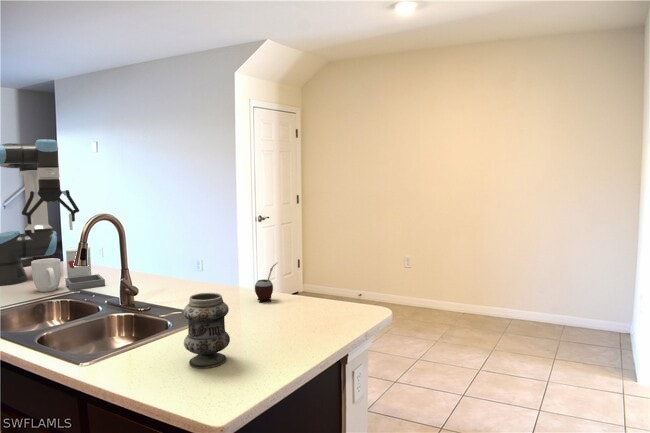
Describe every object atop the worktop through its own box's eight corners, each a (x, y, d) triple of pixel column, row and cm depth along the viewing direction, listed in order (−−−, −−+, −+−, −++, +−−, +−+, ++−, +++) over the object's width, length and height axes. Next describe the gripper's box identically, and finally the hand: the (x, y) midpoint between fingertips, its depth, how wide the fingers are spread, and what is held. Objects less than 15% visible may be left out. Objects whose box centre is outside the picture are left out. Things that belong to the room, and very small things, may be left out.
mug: (68, 291, 207) (66, 261, 206) (39, 296, 200) (37, 265, 199) (58, 285, 218) (56, 257, 217) (30, 290, 211) (28, 260, 209)
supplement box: (67, 282, 225) (64, 250, 224) (71, 278, 234) (69, 247, 232) (88, 280, 227) (86, 249, 226) (92, 276, 236) (90, 246, 235)
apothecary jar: (233, 352, 137) (231, 289, 135) (226, 369, 125) (224, 301, 123) (190, 353, 136) (188, 290, 135) (179, 371, 124) (176, 302, 123)
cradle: (65, 284, 220) (65, 278, 220) (99, 280, 228) (98, 274, 228) (70, 290, 209) (69, 284, 208) (105, 286, 217) (104, 279, 216)
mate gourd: (251, 302, 188) (250, 264, 187) (263, 297, 195) (262, 260, 194) (267, 304, 185) (266, 265, 183) (278, 299, 192) (278, 262, 190)
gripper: (12, 179, 184) (16, 234, 186) (84, 178, 198) (87, 229, 200) (11, 178, 190) (15, 232, 192) (82, 177, 204) (84, 227, 206)
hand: (52, 231), depth 196 cm, fingers open, 13 cm apart
